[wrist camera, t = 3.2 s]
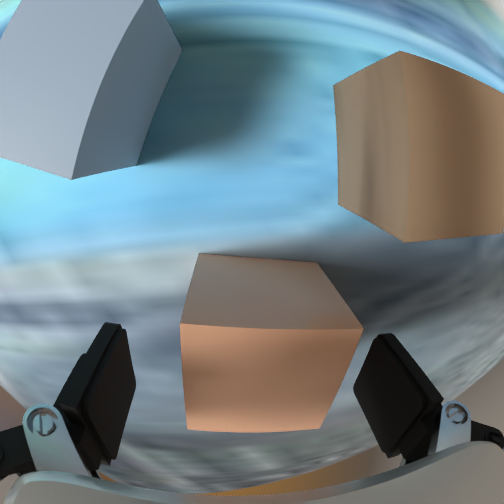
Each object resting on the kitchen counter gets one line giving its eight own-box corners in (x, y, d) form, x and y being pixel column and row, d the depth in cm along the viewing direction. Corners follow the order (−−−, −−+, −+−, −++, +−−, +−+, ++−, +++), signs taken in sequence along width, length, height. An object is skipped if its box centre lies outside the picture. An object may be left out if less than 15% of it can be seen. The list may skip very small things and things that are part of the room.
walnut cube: (426, 101, 9) (504, 94, 5) (427, 202, 11) (502, 233, 7) (332, 85, 9) (399, 50, 5) (337, 204, 11) (404, 242, 6)
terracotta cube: (316, 261, 12) (363, 328, 7) (295, 350, 14) (319, 428, 9) (198, 252, 11) (179, 323, 7) (196, 347, 13) (187, 429, 8)
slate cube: (182, 51, 8) (151, -12, 4) (137, 165, 10) (71, 179, 5) (84, 37, 7) (22, -1, 3) (46, 140, 9) (-33, 147, 4)
